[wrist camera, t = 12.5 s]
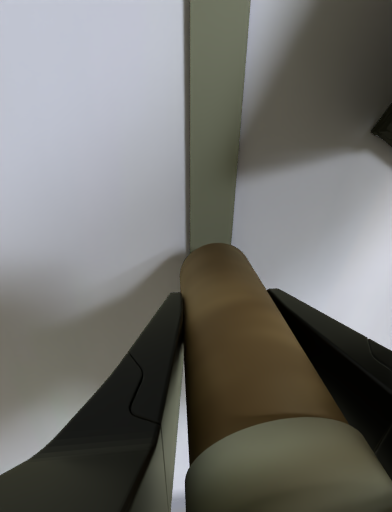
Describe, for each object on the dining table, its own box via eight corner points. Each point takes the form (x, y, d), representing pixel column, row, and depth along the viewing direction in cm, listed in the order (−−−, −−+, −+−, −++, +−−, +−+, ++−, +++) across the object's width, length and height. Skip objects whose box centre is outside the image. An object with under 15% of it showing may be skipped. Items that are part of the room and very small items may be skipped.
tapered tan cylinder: (256, 239, 10) (446, 470, 3) (248, 304, 12) (363, 560, 5) (176, 241, 10) (186, 499, 3) (178, 307, 12) (187, 584, 4)
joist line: (308, -755, 4) (314, -796, 4) (225, 305, 14) (225, 307, 14) (189, -796, 4) (190, -841, 4) (189, 307, 14) (190, 309, 13)
